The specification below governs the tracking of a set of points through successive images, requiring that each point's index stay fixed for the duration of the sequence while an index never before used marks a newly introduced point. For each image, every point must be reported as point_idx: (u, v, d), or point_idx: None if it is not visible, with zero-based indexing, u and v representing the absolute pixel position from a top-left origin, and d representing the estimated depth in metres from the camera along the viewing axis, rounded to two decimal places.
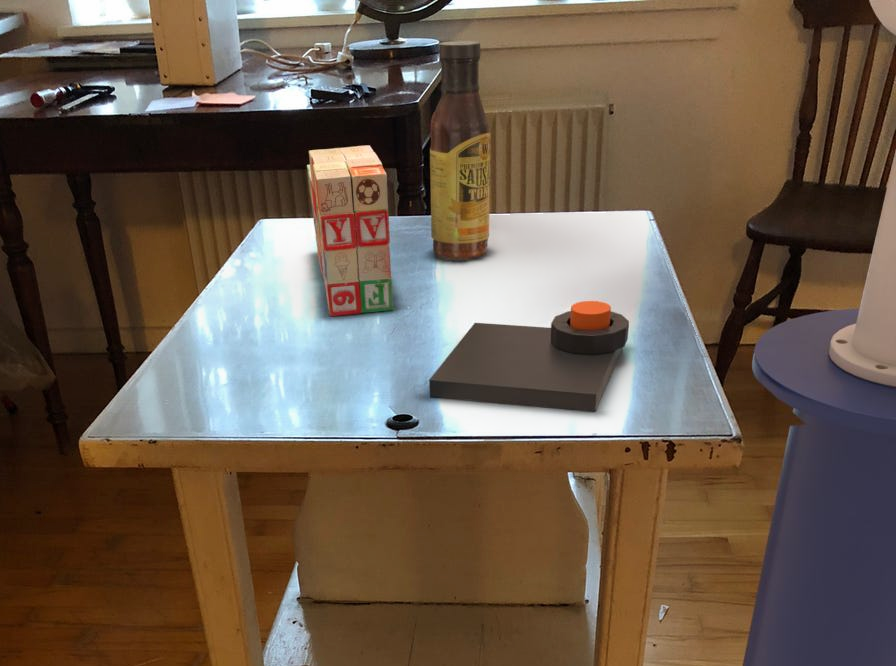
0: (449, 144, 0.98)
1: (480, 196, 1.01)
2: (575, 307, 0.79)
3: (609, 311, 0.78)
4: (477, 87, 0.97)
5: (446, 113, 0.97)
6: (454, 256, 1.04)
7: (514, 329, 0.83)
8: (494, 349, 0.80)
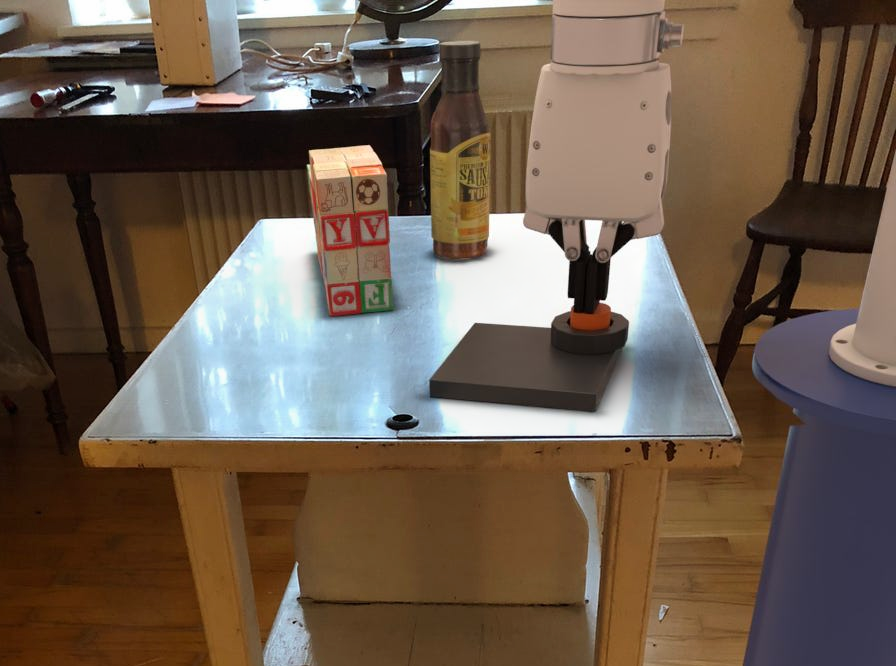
0: (449, 144, 0.98)
1: (480, 196, 1.01)
2: None
3: (609, 312, 0.78)
4: (477, 87, 0.97)
5: (446, 113, 0.97)
6: (454, 256, 1.04)
7: (514, 329, 0.83)
8: (494, 349, 0.80)
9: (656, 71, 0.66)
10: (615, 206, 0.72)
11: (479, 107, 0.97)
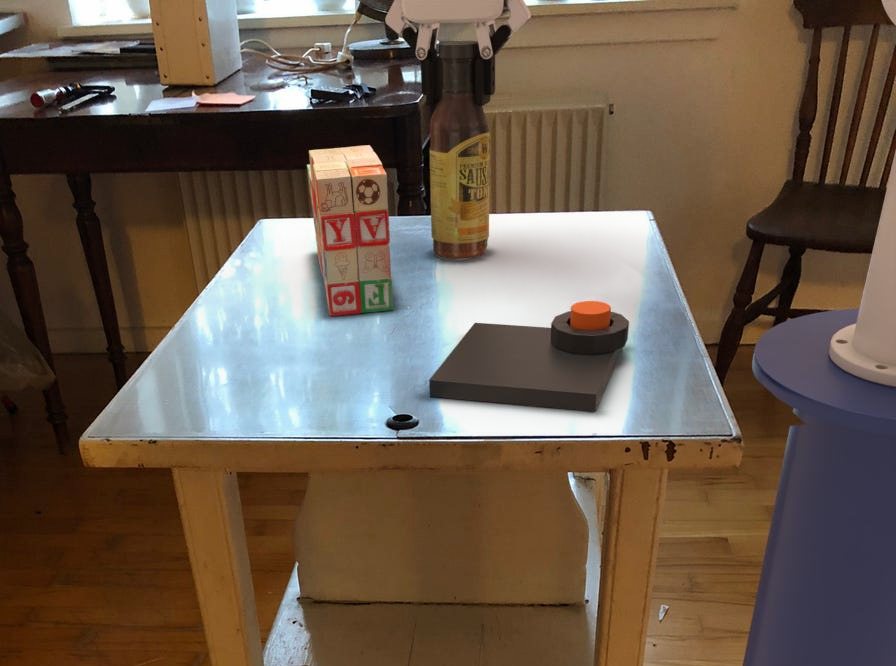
0: (448, 144, 0.98)
1: (480, 195, 1.01)
2: (575, 307, 0.79)
3: (609, 311, 0.78)
4: None
5: (445, 113, 0.97)
6: (454, 256, 1.04)
7: (514, 329, 0.83)
8: (494, 349, 0.80)
9: None
10: (470, 8, 0.91)
11: (478, 107, 0.97)
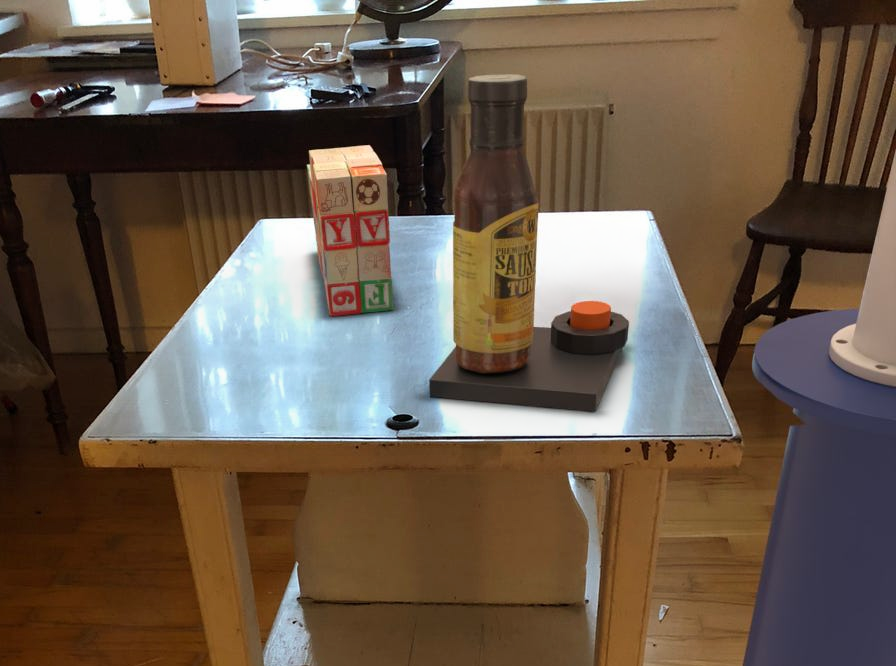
0: (481, 220, 0.69)
1: (523, 290, 0.72)
2: (575, 307, 0.79)
3: (609, 311, 0.78)
4: (522, 140, 0.68)
5: (477, 177, 0.68)
6: (485, 370, 0.75)
7: None
8: None
9: None
10: None
11: (524, 168, 0.68)
